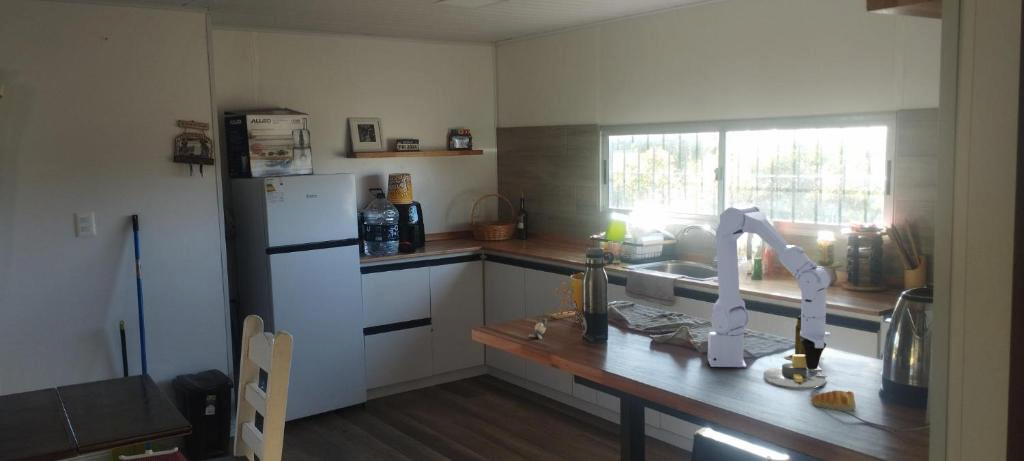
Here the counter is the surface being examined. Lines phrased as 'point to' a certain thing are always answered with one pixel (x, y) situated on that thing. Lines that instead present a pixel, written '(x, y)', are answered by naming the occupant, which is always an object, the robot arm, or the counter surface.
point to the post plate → (779, 379)
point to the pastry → (835, 400)
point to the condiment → (798, 340)
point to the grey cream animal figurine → (540, 328)
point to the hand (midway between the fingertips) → (812, 368)
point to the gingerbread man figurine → (567, 314)
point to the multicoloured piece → (796, 367)
